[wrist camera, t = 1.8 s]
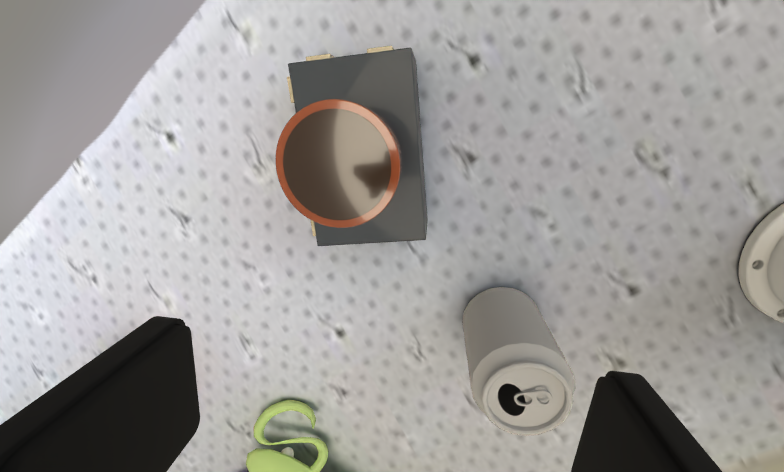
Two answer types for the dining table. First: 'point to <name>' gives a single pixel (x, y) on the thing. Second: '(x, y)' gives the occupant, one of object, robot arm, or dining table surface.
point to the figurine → (281, 468)
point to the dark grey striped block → (396, 107)
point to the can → (516, 363)
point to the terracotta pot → (338, 163)
